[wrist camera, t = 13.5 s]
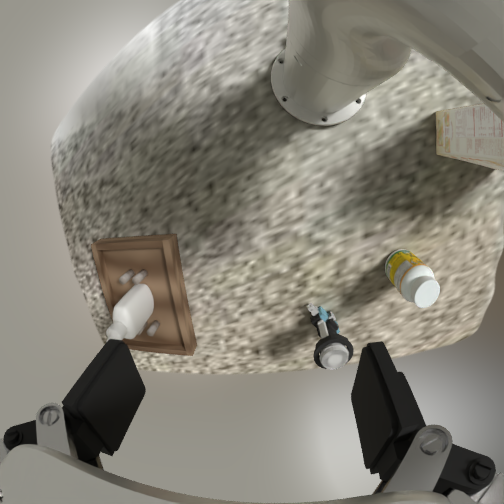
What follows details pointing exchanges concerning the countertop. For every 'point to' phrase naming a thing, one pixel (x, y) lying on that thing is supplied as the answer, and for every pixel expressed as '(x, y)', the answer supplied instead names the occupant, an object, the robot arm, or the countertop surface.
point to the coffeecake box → (471, 135)
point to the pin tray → (159, 282)
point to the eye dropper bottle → (131, 313)
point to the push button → (329, 340)
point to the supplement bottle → (412, 278)
